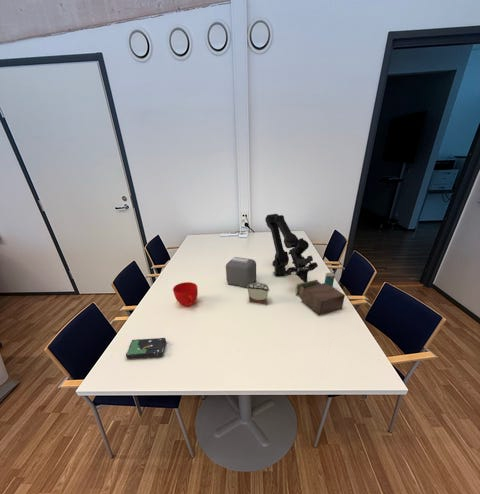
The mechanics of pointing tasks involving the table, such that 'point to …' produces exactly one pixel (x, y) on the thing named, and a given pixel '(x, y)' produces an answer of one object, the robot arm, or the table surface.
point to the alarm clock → (241, 271)
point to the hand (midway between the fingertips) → (306, 282)
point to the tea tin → (329, 279)
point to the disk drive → (146, 348)
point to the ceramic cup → (186, 293)
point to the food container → (258, 293)
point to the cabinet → (322, 298)
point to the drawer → (306, 284)
